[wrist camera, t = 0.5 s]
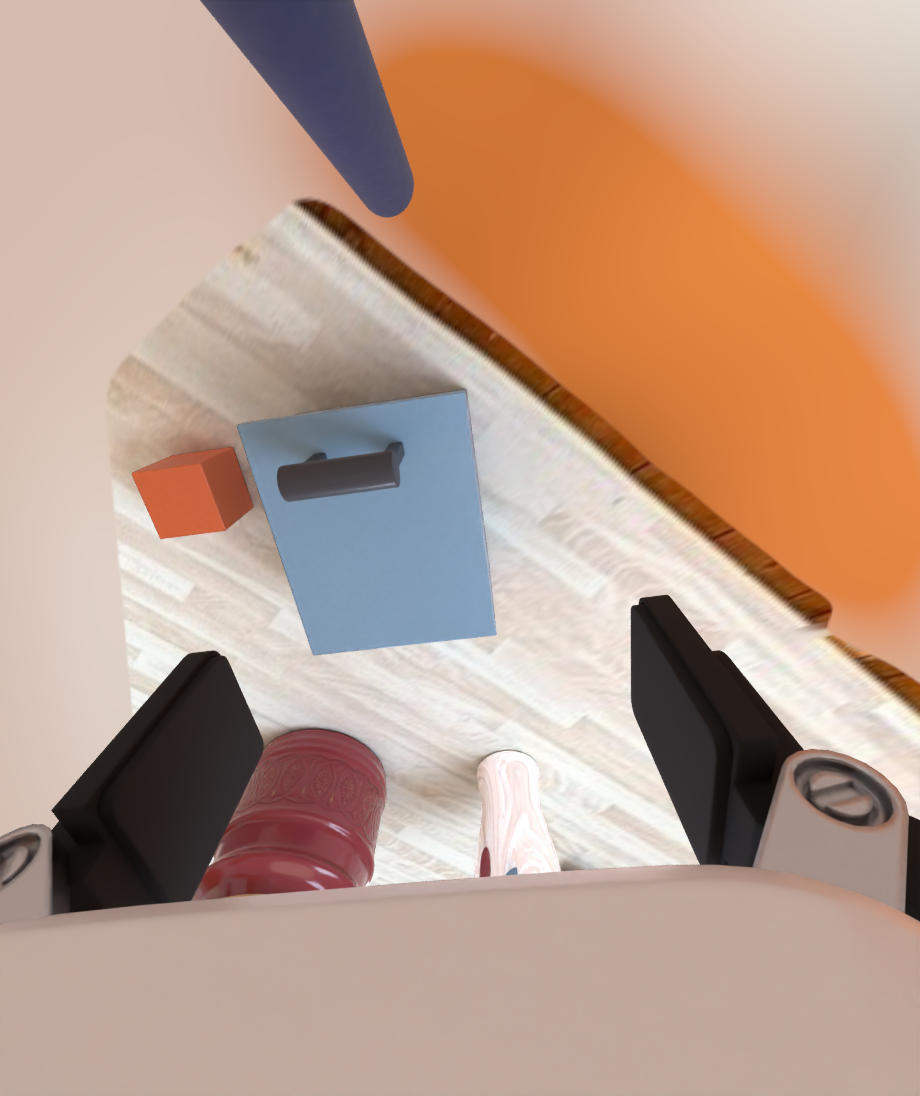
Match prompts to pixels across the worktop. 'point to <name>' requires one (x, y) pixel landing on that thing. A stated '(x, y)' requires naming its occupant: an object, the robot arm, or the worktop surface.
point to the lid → (377, 521)
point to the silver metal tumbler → (512, 818)
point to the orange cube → (194, 492)
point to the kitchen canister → (302, 820)
